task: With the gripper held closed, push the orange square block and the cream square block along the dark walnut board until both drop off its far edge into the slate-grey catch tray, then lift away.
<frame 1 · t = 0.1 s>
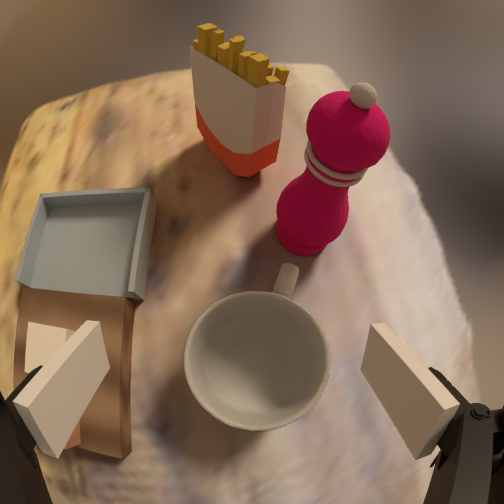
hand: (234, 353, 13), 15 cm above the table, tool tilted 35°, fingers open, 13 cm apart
cream square block: (60, 354, 23), point 3 cm above the table, touching walnut board
french fries container: (235, 155, 37), on the table
pepper mill: (302, 231, 33), on the table
teacup: (259, 349, 28), on the table
walnut board: (73, 369, 25), on the table
catch tray: (89, 247, 30), on the table
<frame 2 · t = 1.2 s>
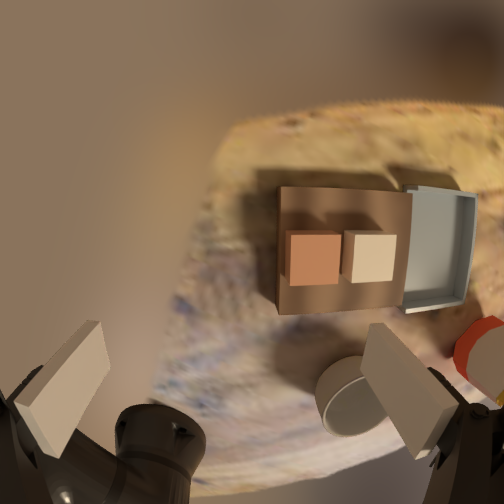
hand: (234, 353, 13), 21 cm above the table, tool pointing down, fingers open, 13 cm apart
orange square block: (308, 253, 31), point 3 cm above the table, touching walnut board
cream square block: (363, 252, 31), point 3 cm above the table, touching walnut board
french fries container: (467, 337, 39), on the table
teacup: (351, 377, 39), on the table
walnut board: (341, 247, 34), on the table
catch tray: (432, 246, 35), on the table
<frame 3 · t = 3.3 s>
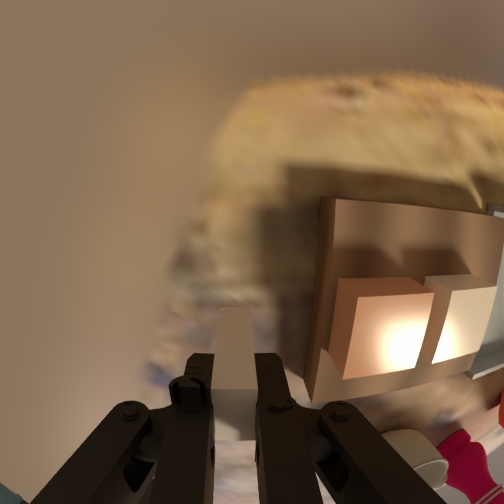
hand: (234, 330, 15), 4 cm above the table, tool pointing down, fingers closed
orange square block: (369, 315, 17), point 3 cm above the table, touching walnut board
cream square block: (443, 307, 17), point 3 cm above the table, touching walnut board
pepper mill: (448, 443, 27), on the table
teacup: (386, 447, 25), on the table
walnut board: (408, 295, 20), on the table
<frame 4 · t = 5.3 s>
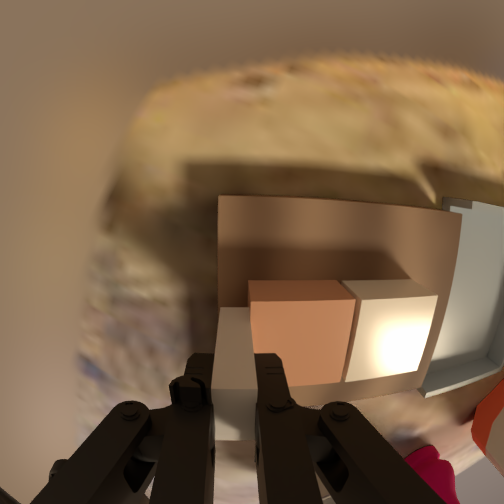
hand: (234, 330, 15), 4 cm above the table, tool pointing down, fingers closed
orange square block: (290, 321, 16), point 3 cm above the table, touching gripper, walnut board
cream square block: (372, 317, 17), point 3 cm above the table, touching walnut board
french fries container: (490, 398, 25), on the table
pepper mill: (415, 459, 26), on the table
walnut board: (336, 300, 20), on the table
catch tray: (472, 292, 20), on the table
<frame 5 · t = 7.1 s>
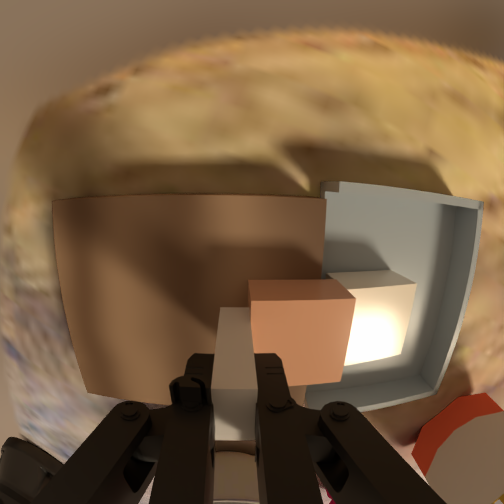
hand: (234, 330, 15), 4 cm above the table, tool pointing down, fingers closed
orange square block: (290, 320, 16), point 3 cm above the table, touching cream square block, gripper
cream square block: (355, 306, 18), point 1 cm above the table, tilted 6°, touching orange square block
french fries container: (442, 418, 25), on the table
teacup: (243, 468, 24), on the table
walnut board: (187, 299, 19), on the table
catch tray: (385, 298, 20), on the table
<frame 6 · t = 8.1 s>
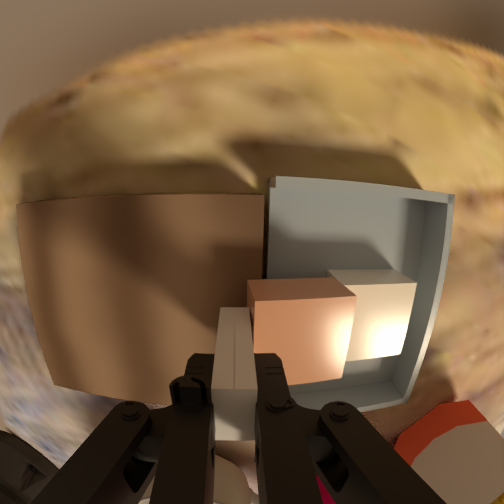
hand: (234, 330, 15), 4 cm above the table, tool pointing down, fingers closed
orange square block: (289, 319, 16), point 3 cm above the table, touching cream square block, gripper
cream square block: (357, 304, 19), point 1 cm above the table, touching catch tray, orange square block
french fries container: (423, 425, 24), on the table
pepper mill: (323, 482, 26), on the table
teacup: (211, 468, 24), on the table
walnut board: (140, 297, 19), on the table
catch tray: (346, 299, 20), on the table
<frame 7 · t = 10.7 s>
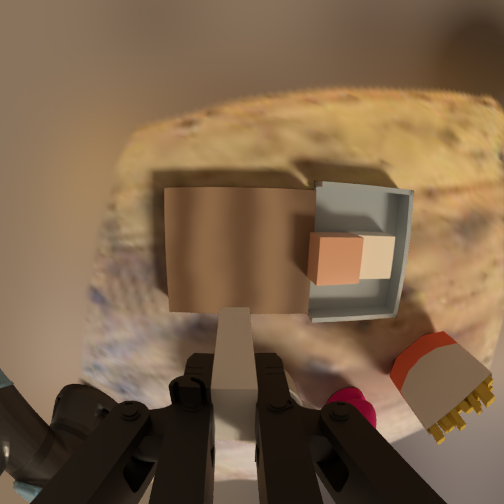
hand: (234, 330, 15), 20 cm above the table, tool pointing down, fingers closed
orange square block: (329, 254, 32), point 3 cm above the table, tilted 6°, touching cream square block, walnut board
cream square block: (364, 251, 34), point 1 cm above the table, touching catch tray, orange square block
french fries container: (413, 353, 39), on the table
pepper mill: (344, 400, 41), on the table
teacup: (266, 383, 39), on the table
walnut board: (239, 247, 34), on the table
catch tray: (355, 249, 35), on the table
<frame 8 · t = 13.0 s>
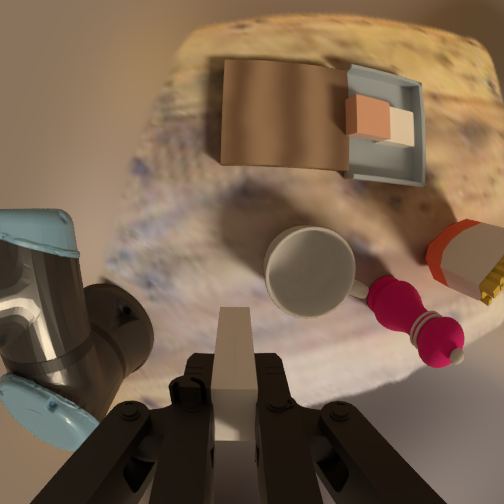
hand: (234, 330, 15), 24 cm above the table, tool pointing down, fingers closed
orange square block: (362, 120, 33), point 3 cm above the table, tilted 6°, touching cream square block, walnut board
cream square block: (388, 128, 35), point 1 cm above the table, touching catch tray, orange square block
french fries container: (442, 245, 41), on the table
pepper mill: (383, 294, 42), on the table
teacup: (307, 263, 40), on the table
walnut board: (284, 116, 35), on the table
catch tray: (380, 128, 36), on the table
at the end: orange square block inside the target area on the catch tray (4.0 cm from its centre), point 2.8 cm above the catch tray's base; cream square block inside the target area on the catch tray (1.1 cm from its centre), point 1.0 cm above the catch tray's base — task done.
